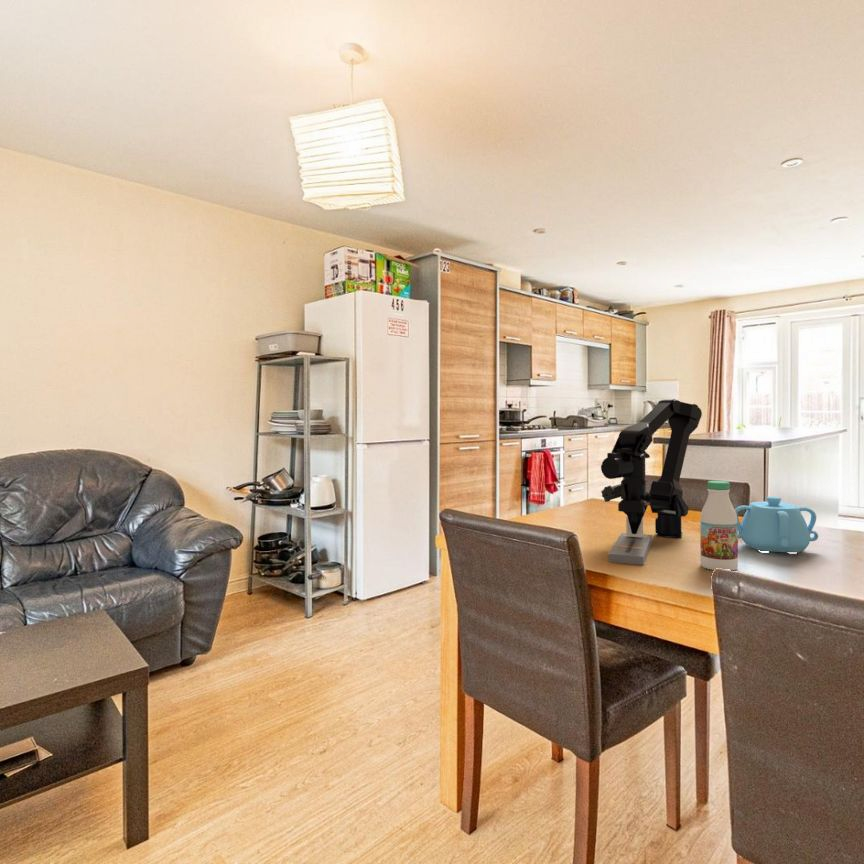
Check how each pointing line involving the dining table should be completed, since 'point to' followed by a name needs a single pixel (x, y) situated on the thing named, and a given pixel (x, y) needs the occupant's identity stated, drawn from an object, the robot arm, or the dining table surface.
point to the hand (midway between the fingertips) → (634, 532)
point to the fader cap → (639, 532)
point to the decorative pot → (776, 526)
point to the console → (630, 549)
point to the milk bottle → (718, 529)
